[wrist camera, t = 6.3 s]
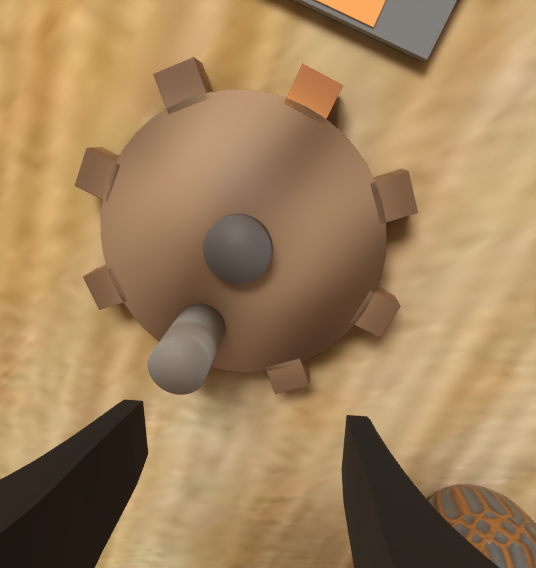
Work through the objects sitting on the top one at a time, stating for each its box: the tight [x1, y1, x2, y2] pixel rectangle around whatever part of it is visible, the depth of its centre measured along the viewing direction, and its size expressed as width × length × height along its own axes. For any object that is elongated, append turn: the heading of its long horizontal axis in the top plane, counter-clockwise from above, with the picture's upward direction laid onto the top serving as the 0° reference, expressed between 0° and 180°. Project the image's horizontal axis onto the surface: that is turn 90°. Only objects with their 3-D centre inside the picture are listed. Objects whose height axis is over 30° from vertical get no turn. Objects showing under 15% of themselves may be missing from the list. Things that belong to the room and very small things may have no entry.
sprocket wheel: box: [75, 57, 418, 395], centre depth 18 cm, size 16×16×5 cm
